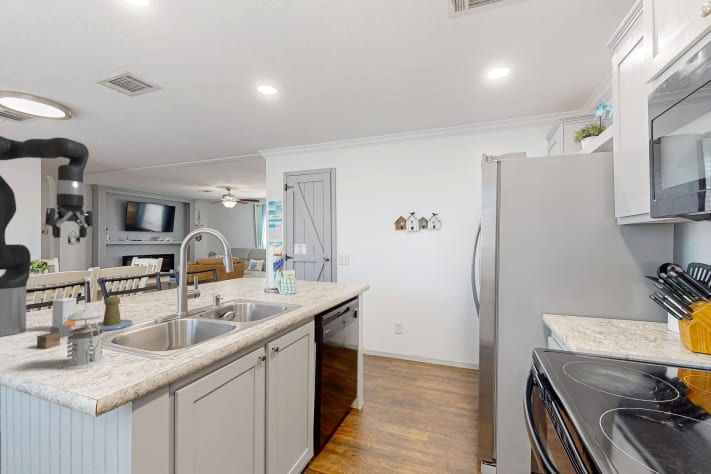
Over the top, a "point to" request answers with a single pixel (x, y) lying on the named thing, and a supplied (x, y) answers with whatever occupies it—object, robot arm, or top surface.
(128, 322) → the slate plate
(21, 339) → the top surface
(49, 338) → the walnut block
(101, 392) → the top surface
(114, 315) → the cork
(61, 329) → the graphite block
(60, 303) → the skincare box
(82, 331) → the french press
